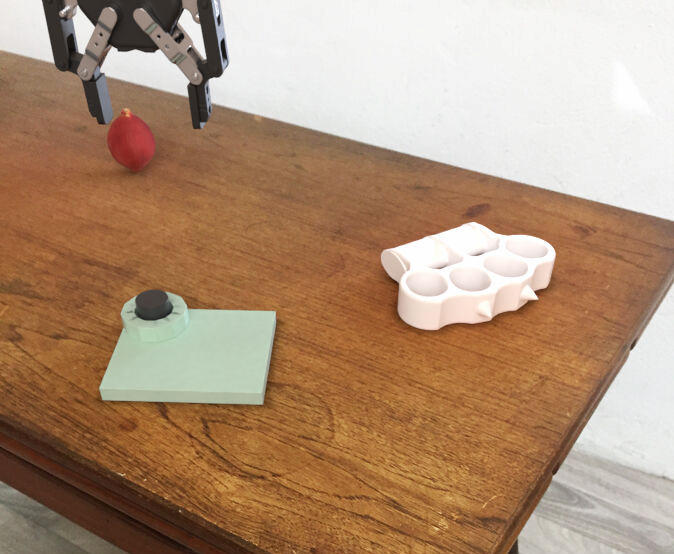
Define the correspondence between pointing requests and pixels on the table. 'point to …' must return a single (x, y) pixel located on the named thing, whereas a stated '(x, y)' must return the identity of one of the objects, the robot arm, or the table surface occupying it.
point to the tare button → (152, 305)
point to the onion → (131, 141)
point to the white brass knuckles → (467, 275)
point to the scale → (191, 356)
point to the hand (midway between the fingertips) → (153, 123)
